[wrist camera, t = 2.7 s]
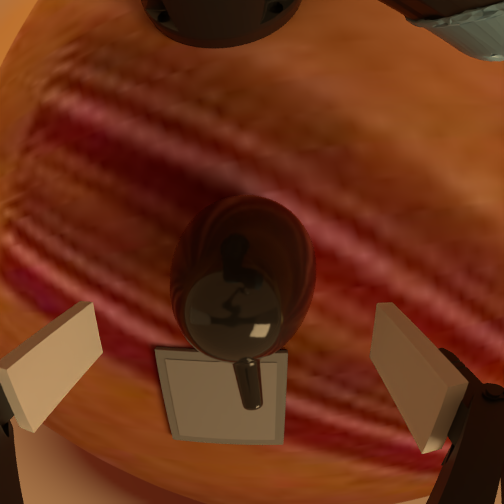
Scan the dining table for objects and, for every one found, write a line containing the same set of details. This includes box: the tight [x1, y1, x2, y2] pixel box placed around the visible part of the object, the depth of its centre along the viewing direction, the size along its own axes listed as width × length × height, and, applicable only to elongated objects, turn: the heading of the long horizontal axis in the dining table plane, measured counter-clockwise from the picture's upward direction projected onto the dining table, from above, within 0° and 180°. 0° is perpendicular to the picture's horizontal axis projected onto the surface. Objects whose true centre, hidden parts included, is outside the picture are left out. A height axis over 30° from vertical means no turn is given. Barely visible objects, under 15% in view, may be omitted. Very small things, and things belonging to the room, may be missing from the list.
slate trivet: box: [155, 347, 288, 445], centre depth 31 cm, size 13×13×1 cm
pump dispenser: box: [170, 195, 316, 410], centre depth 20 cm, size 10×10×15 cm
